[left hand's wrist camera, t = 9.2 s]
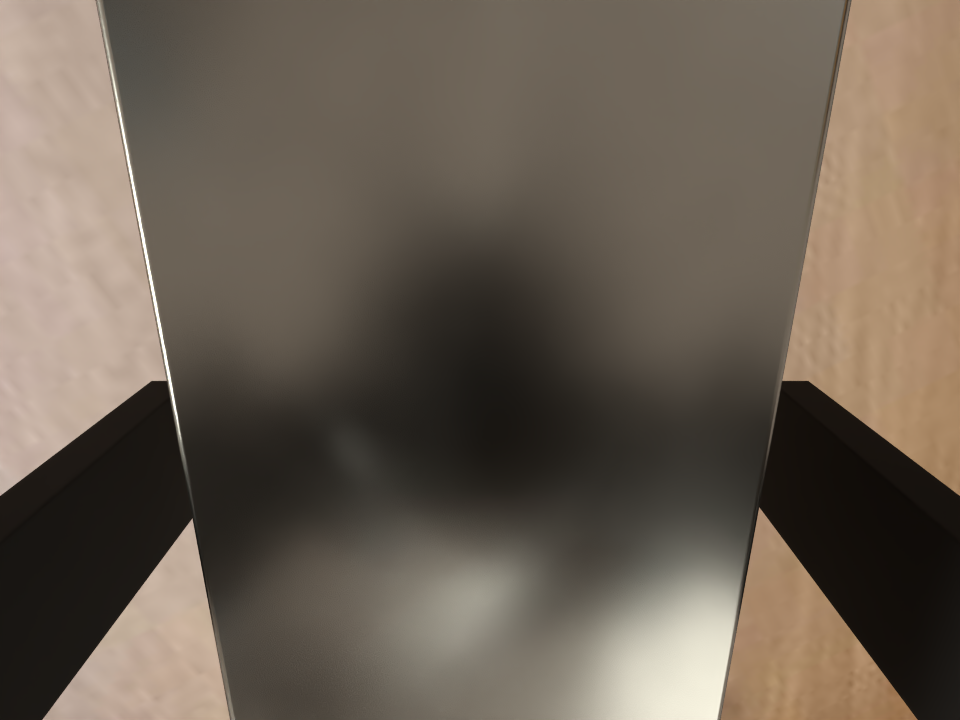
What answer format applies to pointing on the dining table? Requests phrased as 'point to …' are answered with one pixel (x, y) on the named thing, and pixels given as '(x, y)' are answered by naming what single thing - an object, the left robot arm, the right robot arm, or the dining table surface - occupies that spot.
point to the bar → (474, 334)
